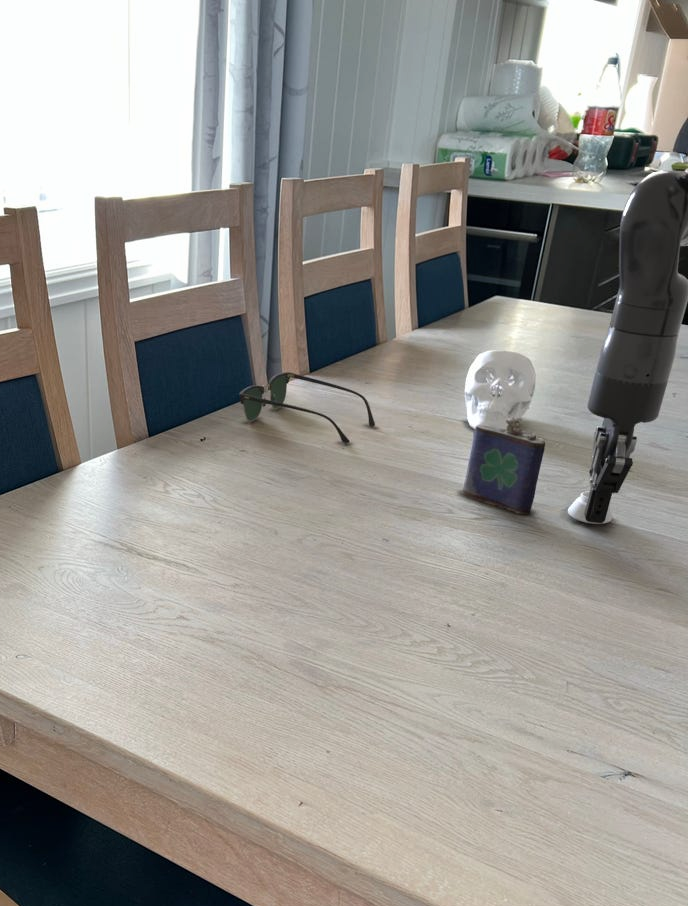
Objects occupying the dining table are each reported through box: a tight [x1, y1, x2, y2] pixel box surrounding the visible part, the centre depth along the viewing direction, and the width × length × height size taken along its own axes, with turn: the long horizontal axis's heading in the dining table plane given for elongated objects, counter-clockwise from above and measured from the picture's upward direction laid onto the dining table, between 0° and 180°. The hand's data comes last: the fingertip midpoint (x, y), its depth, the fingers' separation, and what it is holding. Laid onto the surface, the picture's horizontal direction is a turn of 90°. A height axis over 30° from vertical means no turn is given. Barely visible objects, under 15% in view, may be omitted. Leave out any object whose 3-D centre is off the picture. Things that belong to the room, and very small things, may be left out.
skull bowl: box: [464, 349, 537, 430], centre depth 151 cm, size 10×14×12 cm
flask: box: [462, 417, 546, 515], centre depth 119 cm, size 9×3×11 cm, turn 46°
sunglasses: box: [238, 371, 376, 444], centre depth 145 cm, size 16×17×5 cm
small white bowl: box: [567, 490, 613, 525], centre depth 118 cm, size 5×3×5 cm
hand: (593, 520), depth 115 cm, fingers closed
